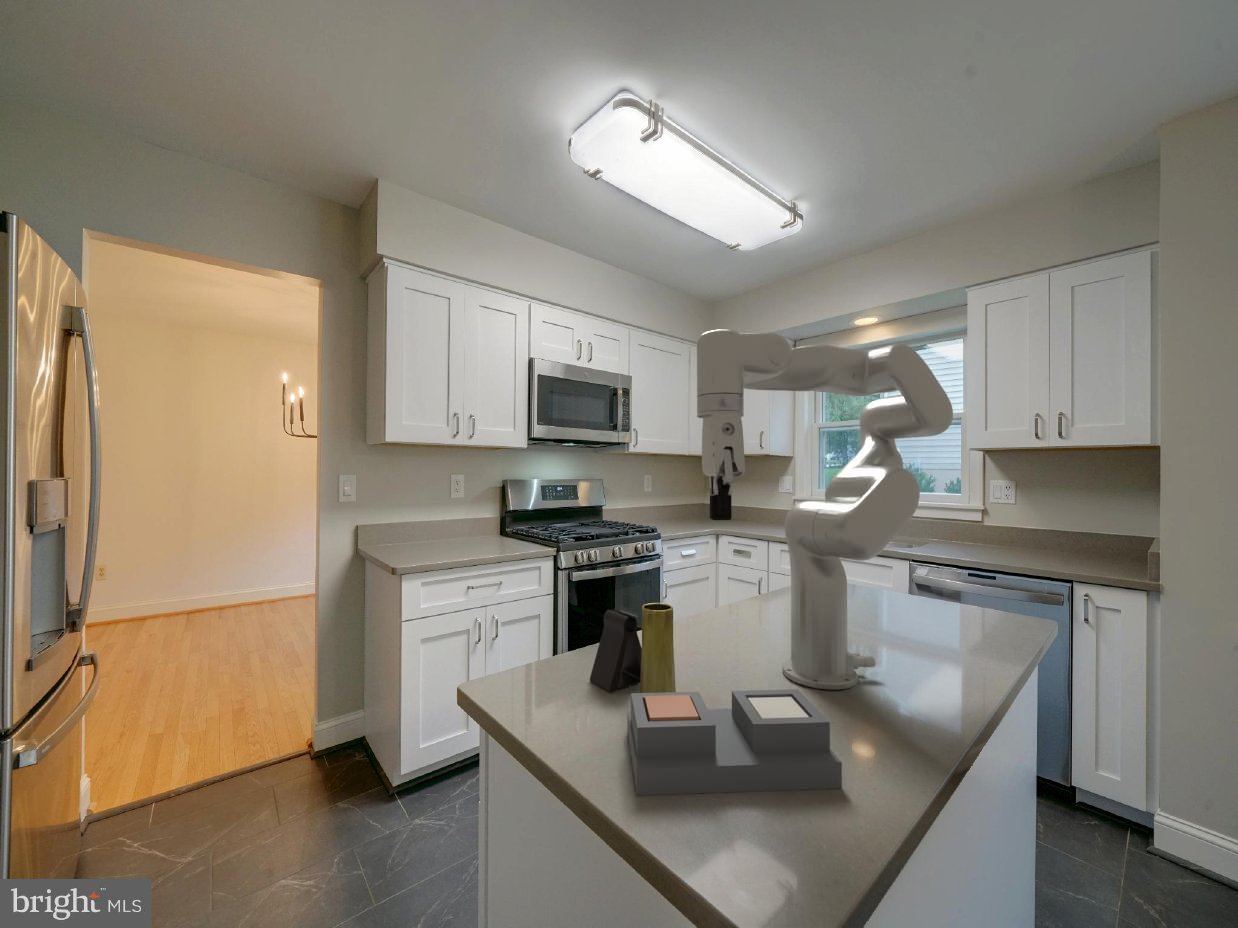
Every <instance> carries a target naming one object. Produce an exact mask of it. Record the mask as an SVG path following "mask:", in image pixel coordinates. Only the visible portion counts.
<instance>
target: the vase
mask: <svg viewBox="0 0 1238 928" xmlns="http://www.w3.org/2000/svg"><path fill="white" fill-rule="evenodd" d="M641 607H642V608H641V648H642V652H641V675H640V684H639V689H638V690H639V693H666V692H677V689H676V671H675V666H676V665H675V649H674V607H673V605H671V604H669V603H664V602H650V603H646V604H643V605H642V606H641Z"/></svg>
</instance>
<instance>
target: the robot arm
mask: <svg viewBox="0 0 1238 928" xmlns="http://www.w3.org/2000/svg"><path fill="white" fill-rule="evenodd" d="M744 389H745V390H755V391H774V392H775V391H781V392H782V391H784V392H786V391H787V392H817V393H818V392H819V393H829V394H837V395H844V396H852V397H853V396H854V397H867V396H874V395H881V394H888V393H894V392H899V395H893V396H892V395H891V396H887V397H886V396H884V397H881V398H877V399H875V400H873V401H870V402H869V403H868V404H866V406H865V407H864V408H863V409H862V412H861V413H860V416H859V431H860V441H861V442H860V449H859V451H858V452H857V453H856V455H854V456H853V458H852V459H850V460H849V462H848V463H846V464H845V465H844V466H843V467H842V468H841V469H840V470H839V471H838V472H837V473H836V474H834V476H833V477H832V479H831V480H830V481H829V482H828V484H827V486H826V488H825V491H824V498H825V500H819V499H818V500H817V499H815V500H804V501H800V502H799V503H797V504H794V505H793V506H792V507H791V509H790V510H789V511H787V514H786V517H785V520H784V535H785V540H786V544H787V549H788V555H789V565H790V655H791V656H790V659H787V660H785V662H783V663H782V666H781V667H782V673H783V675H784V676H785V677H786V678H787V679H789V680H790V681H792V682H793V683H796V684H799V685H802V686H805V687H809V688H814V689H818V690H833V691H834V690H835V691H838V690H845V689H849V688H852V687H855V686H856V684H857V683H858V673H857V672H856V671H855V670H858V669H859V668H874V667H875V666H876V660H875V658H874V656H873V655H861V654H860V653H859V652H850V651H848V650H849V649H848V643H849V642H848V580H847V574H846V570H845V567H844V565H843V563H842V560H841V559H846V560H851V561H856V562H857V561H858V562H859V561H860V562H862V561H868V560H871V559H873V558H875V557H876V556H878V555H880V553H882V551H883V550H884V549H885V548H886V547H888V545H889V544H891V543H890V542H892V540H893V539H894V538H895V537H896V536H897V534H899V532H900V531H901V530H902V529H903V528H904V527H905V526H906V525H907V523H908V522H909V521H910V519H911V518H912V517H913V516H914V514H915V512H916V510H917V509H918V505H919V501H920V497H921V495H920V494H921V491H920V485H919V481H918V479H917V478H916V477H915V476H914V474H913V473H912V472H911V471H909V470H907V469H906V468H904V462H903V457H902V455H901V453H900V452H899V450H898V449H897V444H896V440H897V439H911V438H923V437H924V438H925V437H933V436H934V437H935V436H938V435H940V434H944V433H945V432H946V431H948V429H949V427H950V426H951V425H952V422H953V418H954V409H953V405H952V403H951V402H952V401H951V400H950V398H949V396H948V394H947V392H946V391H945V390H944V388H943V386H942V385H941V383H940V382H939V381H938V379H937V377H936V376H935V374H934V373H933V371H932V369H931V368H930V367H929V366H928V364H927V362H926V361H925V360H924V359H923V358H922V356H921V355H920V354H919V353H918V352H917V351H916V350H915V349H913V348H912V347H911V346H909V345H907V344H905V343H894V344H890V345H886V346H882V347H878V348H875V349H874V348H873V349H869V350H860V349H852V348H845V347H841V346H835V345H830V344H825V343H821V344H820V343H819V344H812V345H811V344H810V345H808V344H807V345H804V346H803V345H802V346H799V347H793V348H792V347H791V344H790V343H789V341H788V340H787V339H786V338H784V337H783V336H782V335H780V334H777V333H774V332H766V331H765V332H751V333H750V332H749V333H748V332H737V331H736V330H732V329H714V330H709V331H705V332H703V333H702V334H701V335H699V337H698V338H697V342H696V399H697V401H696V418H698V419H702V427H701V428H702V429H701V431H702V432H701V433H702V434H701V468H702V469H701V470H702V471H701V472H702V473H703V475H705V476H706V477H708V478H709V479H708V481H709V519H711V520H712V521H731V520H732V514H733V513H732V510H733V509H732V508H733V507H732V493H733V483H734V477H741V476H742V477H743V476H744V474H745V472H746V468H745V467H746V463H745V462H746V461H745V446H744V445H745V443H744V442H745V441H744V431H743V430H744V429H743V422H742V417H744V416H745V414H744V413H745V412H744V411H745V409H744V407H745V406H744V403H745V402H744V400H745V399H744V391H745V390H744Z"/></svg>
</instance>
